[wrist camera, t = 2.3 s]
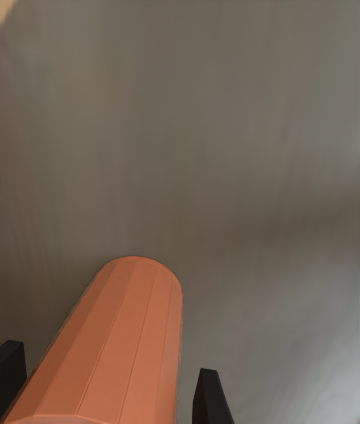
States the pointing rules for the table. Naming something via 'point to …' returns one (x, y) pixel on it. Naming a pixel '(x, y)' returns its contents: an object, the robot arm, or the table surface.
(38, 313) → the table surface
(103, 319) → the cup
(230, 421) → the robot arm
